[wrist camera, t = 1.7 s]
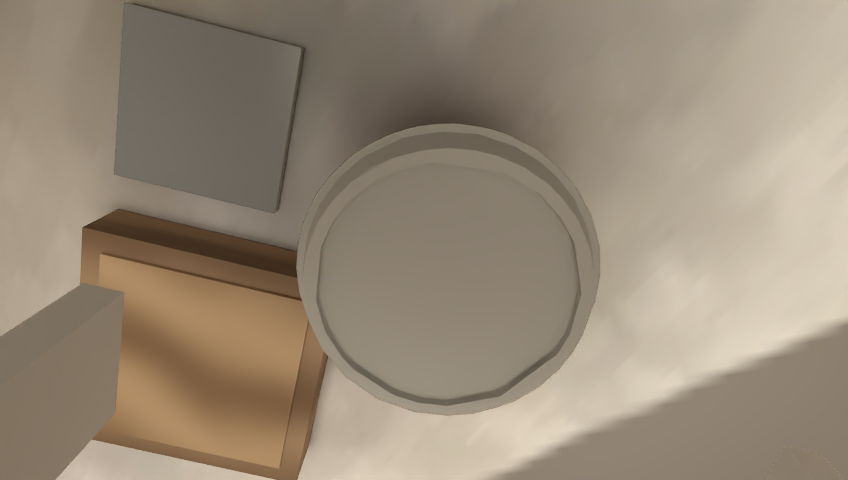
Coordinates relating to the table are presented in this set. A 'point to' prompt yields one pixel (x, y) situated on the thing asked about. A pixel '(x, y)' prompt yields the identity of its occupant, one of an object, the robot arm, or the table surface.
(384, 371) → the disposable coffee cup
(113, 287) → the walnut base
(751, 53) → the table surface
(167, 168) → the slate coaster
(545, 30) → the table surface
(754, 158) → the table surface
